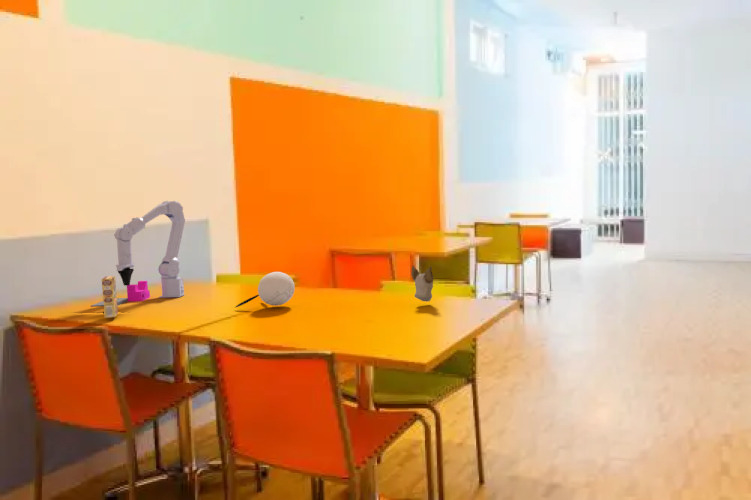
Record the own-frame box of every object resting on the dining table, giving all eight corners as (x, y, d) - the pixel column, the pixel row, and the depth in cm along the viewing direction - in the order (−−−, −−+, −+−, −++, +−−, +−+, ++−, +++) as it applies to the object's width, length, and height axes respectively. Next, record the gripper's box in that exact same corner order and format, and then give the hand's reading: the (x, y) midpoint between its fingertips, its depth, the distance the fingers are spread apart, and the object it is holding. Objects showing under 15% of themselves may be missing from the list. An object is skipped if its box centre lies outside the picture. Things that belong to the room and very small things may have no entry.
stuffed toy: (311, 290, 297) (269, 316, 308) (296, 261, 299) (255, 288, 310) (284, 297, 280) (242, 324, 292) (269, 266, 282) (227, 295, 294)
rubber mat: (134, 298, 328) (134, 296, 328) (116, 305, 308) (116, 303, 308) (110, 299, 328) (110, 297, 328) (90, 306, 309) (90, 304, 309)
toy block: (141, 301, 319) (140, 284, 319) (127, 301, 320) (126, 285, 319) (153, 296, 334) (152, 280, 334) (140, 296, 335) (139, 280, 334)
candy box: (115, 317, 279) (112, 278, 278) (104, 318, 278) (101, 278, 277) (118, 313, 287) (115, 275, 286) (107, 314, 286) (104, 276, 285)
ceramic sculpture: (442, 301, 289) (441, 265, 288) (428, 304, 283) (427, 267, 282) (421, 299, 297) (420, 263, 295) (408, 302, 290) (407, 265, 289)
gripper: (122, 253, 324) (124, 283, 325) (109, 256, 309) (111, 287, 310) (137, 253, 323) (139, 282, 324) (125, 256, 309) (126, 287, 310)
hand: (126, 285), depth 317 cm, fingers closed
